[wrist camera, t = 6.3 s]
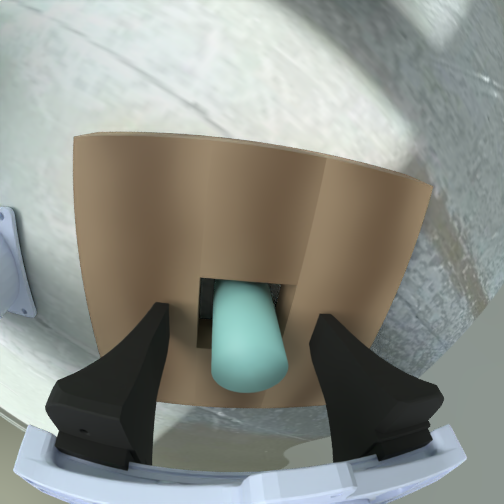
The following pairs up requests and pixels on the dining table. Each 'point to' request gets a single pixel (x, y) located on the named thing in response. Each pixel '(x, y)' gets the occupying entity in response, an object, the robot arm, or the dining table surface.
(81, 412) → the robot arm
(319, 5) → the dining table surface
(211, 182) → the socket board
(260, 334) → the peg
